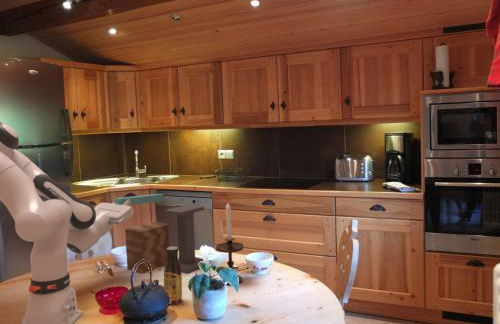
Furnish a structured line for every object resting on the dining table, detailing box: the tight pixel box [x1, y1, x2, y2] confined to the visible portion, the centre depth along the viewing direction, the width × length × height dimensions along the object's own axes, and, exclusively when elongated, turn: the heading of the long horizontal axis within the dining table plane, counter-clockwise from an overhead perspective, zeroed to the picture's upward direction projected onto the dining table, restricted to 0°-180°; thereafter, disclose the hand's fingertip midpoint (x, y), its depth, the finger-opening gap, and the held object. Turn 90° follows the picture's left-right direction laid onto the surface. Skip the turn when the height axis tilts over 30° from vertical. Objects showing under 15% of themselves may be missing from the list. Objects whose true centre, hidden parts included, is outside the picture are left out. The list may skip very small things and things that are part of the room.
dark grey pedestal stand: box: [164, 204, 205, 275], centre depth 201 cm, size 14×14×26 cm
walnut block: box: [124, 221, 170, 274], centre depth 203 cm, size 16×10×18 cm, turn 142°
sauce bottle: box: [163, 245, 183, 305], centre depth 163 cm, size 6×6×20 cm
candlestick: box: [215, 195, 245, 287], centre depth 180 cm, size 11×11×35 cm
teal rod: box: [114, 193, 164, 206], centre depth 199 cm, size 24×3×3 cm, turn 143°
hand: (125, 199), depth 193 cm, fingers closed on teal rod, 3 cm apart
